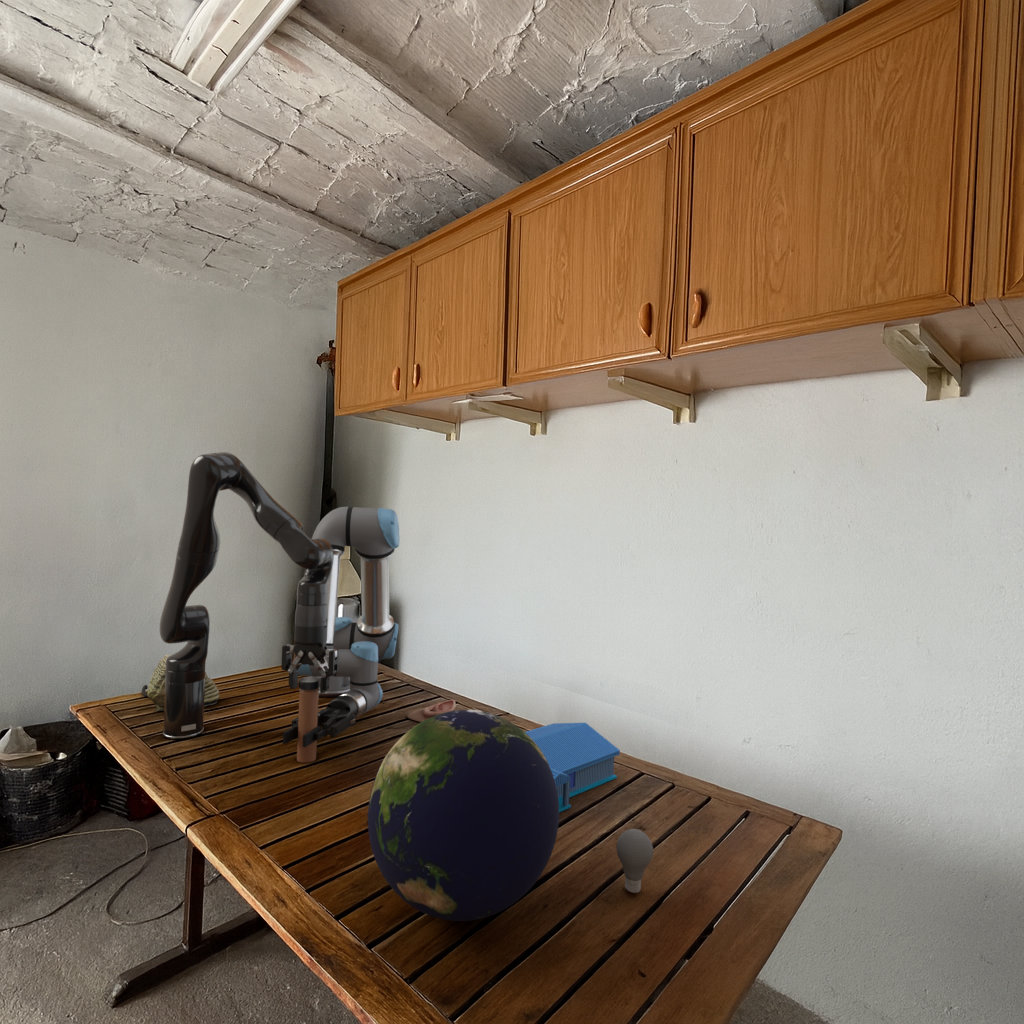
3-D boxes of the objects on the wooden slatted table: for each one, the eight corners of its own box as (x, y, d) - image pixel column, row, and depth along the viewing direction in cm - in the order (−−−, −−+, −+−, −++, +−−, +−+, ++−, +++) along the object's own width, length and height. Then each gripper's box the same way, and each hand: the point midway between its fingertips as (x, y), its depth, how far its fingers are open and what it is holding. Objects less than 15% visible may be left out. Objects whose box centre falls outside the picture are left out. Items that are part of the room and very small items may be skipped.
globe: (322, 932, 92) (330, 728, 92) (425, 835, 120) (432, 678, 119) (512, 1001, 81) (522, 769, 81) (577, 877, 109) (585, 703, 108)
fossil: (144, 707, 182) (145, 655, 182) (212, 696, 194) (213, 647, 194) (151, 716, 175) (153, 662, 175) (221, 703, 188) (223, 653, 188)
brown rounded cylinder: (296, 763, 150) (299, 685, 149) (296, 756, 154) (299, 680, 154) (316, 761, 151) (319, 684, 151) (315, 754, 155) (318, 679, 155)
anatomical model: (403, 706, 181) (417, 694, 192) (402, 720, 181) (416, 707, 192) (447, 711, 178) (459, 699, 189) (447, 725, 178) (458, 712, 189)
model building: (501, 837, 120) (504, 785, 120) (427, 790, 139) (429, 744, 138) (628, 782, 147) (630, 739, 147) (552, 748, 165) (553, 710, 165)
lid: (305, 683, 155) (305, 675, 155) (323, 685, 154) (324, 677, 154) (294, 688, 150) (294, 681, 150) (313, 690, 149) (313, 683, 149)
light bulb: (610, 879, 108) (613, 822, 108) (644, 879, 109) (647, 822, 109) (619, 902, 102) (622, 840, 102) (655, 901, 103) (658, 840, 103)
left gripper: (275, 622, 150) (273, 691, 150) (330, 627, 146) (327, 698, 147) (293, 617, 157) (291, 682, 157) (346, 622, 154) (343, 689, 154)
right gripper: (374, 727, 167) (327, 761, 145) (316, 718, 172) (261, 750, 149) (376, 699, 167) (328, 728, 145) (317, 691, 172) (262, 718, 149)
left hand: (308, 690), depth 152 cm, fingers open, 7 cm apart
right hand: (294, 739), depth 147 cm, fingers closed on brown rounded cylinder, 4 cm apart
